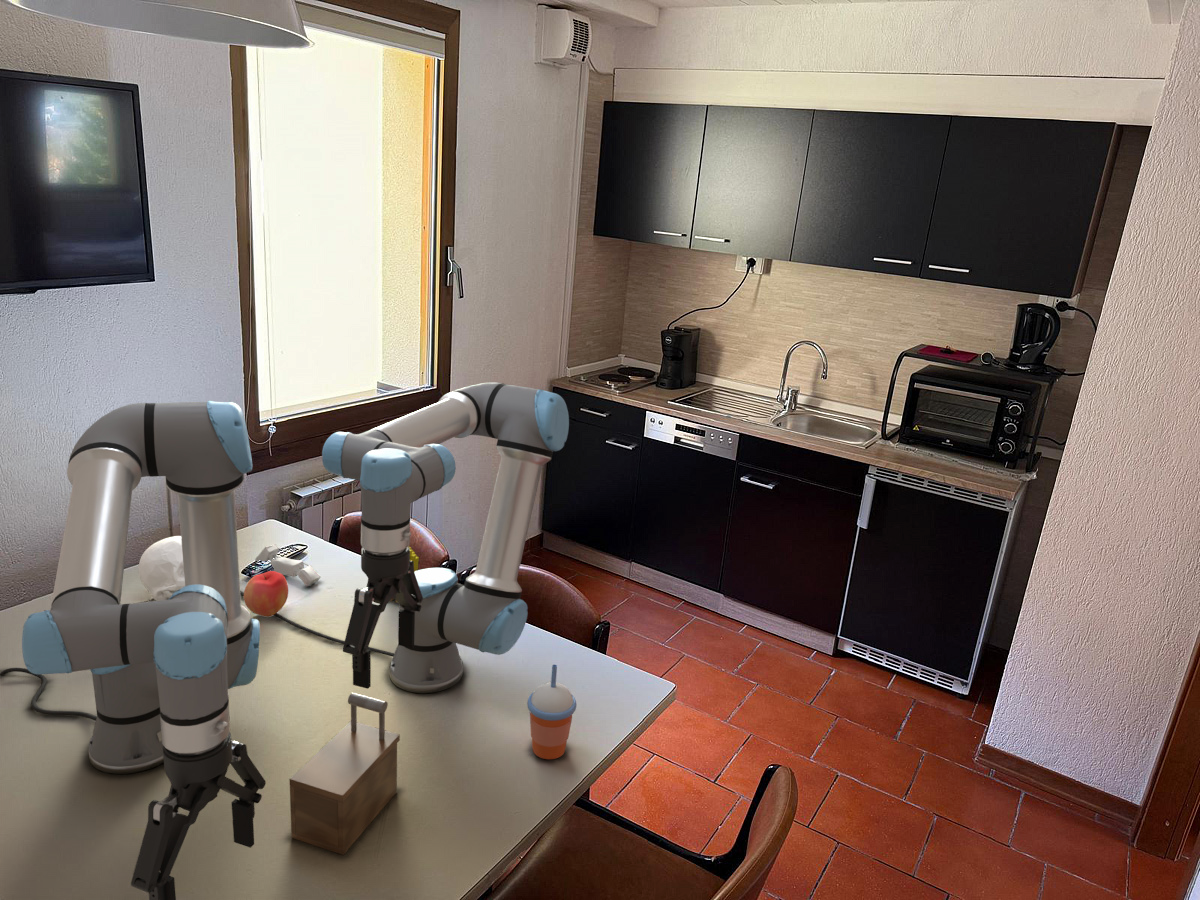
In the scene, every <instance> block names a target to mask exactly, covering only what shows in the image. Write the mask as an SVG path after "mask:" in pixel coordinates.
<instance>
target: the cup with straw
mask: <svg viewBox="0 0 1200 900" xmlns="http://www.w3.org/2000/svg"><path fill="white" fill-rule="evenodd" d="M557 672H558V664H552V665H551V677H550V681H549V682H548V681H547V682H545V683H542V684H540V685H539V686H537V687H536V688H535V690H533V691H532V693H530V694H529V696H528V698H527V703H526V705H527V709H528V711H529V723H530V724H529V725H530V737H531V746H532V747H531V748H532V752H533V753H534V755H536V756H537V757H539V758H540V759H543V760H555V759H558V758H560V757H562V756H563V755H564V753H565V752H566V748H567V742H568V740H569V737H570V731H571V727H572V721H573V714H574V713H575V712H576V710H577V709H576V708H577V700H576V697H575V696H574V695H573V694H572V693H571V690H570V689H569V688H567V686H566V685H564V684H562V683H560V682H557Z"/></svg>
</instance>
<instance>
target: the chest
mask: <svg viewBox="0 0 1200 900" xmlns="http://www.w3.org/2000/svg"><path fill="white" fill-rule="evenodd" d="M397 779H398V743H397V744H396V745H395V746H394V747H393V748H392V749H391V750H390V751H389V753H388V754H387V755H386V756H385V757H384V758H383V759H382V760H381V761H380V762H379V763H378V764H377V766H376V767H375V768H374V769H373V770H372V771H371V772H370V773H369V774H368V775H367V776H366V777H365V779H364V780H363V781H362V782H361V783H360V784H359V785H358V786H357V787H356V788H355V789H354V790H353V792H352V793H351V794H350V795H349V796H348V797H347V798H346V799H345V800H344V801H343V802H340V801H337V800H334V799H331V798H328V797H325V796H322V795H319V794H315V793H312V792H309V791H306V790H303V789H300V788H297V787H294V786H290V785H289V804H290V805H289V806H290V831H291V833H290V834H291V836H290V837H291V838H292V839H295V840H298V841H301V842H304V843H307V844H309V845H312V846H314V847H317V848H318V847H319V848H321V849H323V850H326V851H330V852H332V853H336V854H339V855H341V856H344V855H345V854H346V853H347V852H348V851H349V849H350V848H351V847H352V845H353V844H355V842H356V841H358V839H359V838H360V836H361V835H362V834H363V833H364V831H366V829H367V828H368V827H369V825H370V824H371V823H372V822H373V821H374V819H376V817H377V816H378V815H379V814H380V813H381V812H382V810H383V809H384V808H385V807H386V806H387V804H388V803H389V802H390V801H391V799H392V798H394V796H395V795H396V794H397V792H398V789H397V788H398V780H397Z"/></svg>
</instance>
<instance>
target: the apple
mask: <svg viewBox="0 0 1200 900" xmlns="http://www.w3.org/2000/svg"><path fill="white" fill-rule="evenodd" d="M243 593H244V597H243V601H244V604H245V607H247V610H248V611H249V612H252V613H253V614H255V615H257V616H261V617H265V618H269V617H273V616H274V614H276V613H279V612H280V611H281V610H282V609H283V607H284V606H285V605H286V603H287V600H288V597H289V584H288V581H287V579H286V577H285V575H282V574H281V573H278V572H275V571H268V570H267V571H266V572H264V573H259V574H255V575H254V576H253V577H251V578H250V579H249V580H248V582H247V583H246V585H245V587H244V590H243Z"/></svg>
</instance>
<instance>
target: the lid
mask: <svg viewBox="0 0 1200 900" xmlns="http://www.w3.org/2000/svg"><path fill="white" fill-rule="evenodd" d="M347 704H348V705H350V721H348V723H347V724H346V725H344V726H343V727H342V728H341V729H340V730H339V731H338V732H337V733H336V734H335V735H334V736H333V737H331V739H330V740H328V741H327V742H326V743H325V744H324V745H323V746H322V747H321V748H320V749H319V750H318V751H317V752H316V753H315V754H314V755H313V756H311V758H309V760H308V761H306V762H305V763H304V764H303V765H302V766H301V767H300V768H299V769H298V770H297V771H296V772H295V773H294V774H293V775H292V776H291V777H289V780H288V781H289V787H290V786H294V787H297V788H300V789H303V790H306V791H309V792H312V793H315V794H319V795H322V796H325V797H328V798H331V799H334V800H337V801H340V802H343V801H344V800H345V799H346V798H347V797H348V796H349V795H350V794H351V793H352V792H353V790H354V789H355V788H356V787H357V786H358V785H359V784H360V783H361V782H362V781H363V780H364V779H365V777H366V776H367V775H368V774H369V773H370V772H371V771H372V770H373V769H374V768H375V767H376V766H377V764H378V763H379V762H380V761H381V760H382V759H383V758H384V757H385V756H386V755H387V754H388V753H389V751H390V750H391V749H392V748H393V747H394V746H395V745H396V744H397V745H398V743H399V742H400V740H401V735H400V734H399V733H396V732H392V731H390V730H386V729H385V728H386V711H387V709H388V704H389V703H388V702H387V701H386V700H382V699H379V698H376V697H372V696H368V695H364V694H361V693H358V692H353V691H352V692H351V693H350V694H349V695H348V699H347ZM357 707H358V708H362V709H365V710H369V711H372V712H376V713H378V727H375V726H372V725H368V724H365V723H362V722H358V721H357V720H358V716H357V713H358V712H357V710H358V709H357Z"/></svg>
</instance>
